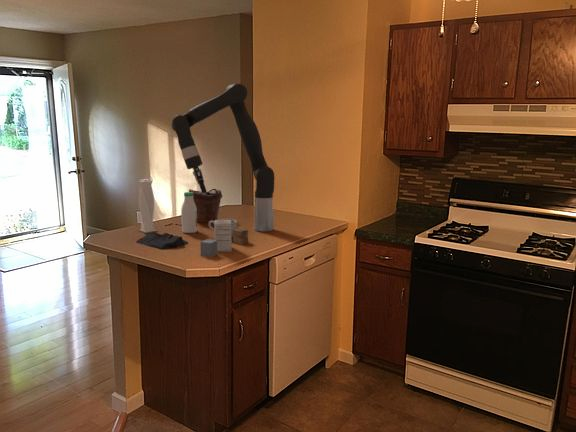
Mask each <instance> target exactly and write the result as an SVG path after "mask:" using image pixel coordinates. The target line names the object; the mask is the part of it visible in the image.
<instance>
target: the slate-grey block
mask: <svg viewBox="0 0 576 432" xmlns="http://www.w3.org/2000/svg"><path fill="white" fill-rule="evenodd" d="M199 243H200V245H199V246H200V256H202V257H209V258H212V257H214V256H216V255H218V252H217V241H216V240H215V239H204V240H202V241H200V242H199Z"/></svg>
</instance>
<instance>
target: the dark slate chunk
mask: <svg viewBox="0 0 576 432" xmlns="http://www.w3.org/2000/svg"><path fill="white" fill-rule="evenodd" d="M135 243H136V244H141V245H144V246H146V247H149V248H153V249H157V250H167V251H168V250H170V249H177V248H179V247H183V246H185V245H187V244H189V242H188V241H186V240H185V239H183V237H182V236H179V235H174V234H171V233H170V234H169V233H167V232H164V233H162V234H161V233H157V232H151V233H146V235H144V236H142V237H141V238H139V239H137V240H136V241H135Z"/></svg>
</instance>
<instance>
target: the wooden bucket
mask: <svg viewBox="0 0 576 432" xmlns="http://www.w3.org/2000/svg"><path fill="white" fill-rule="evenodd" d="M188 192H193V194H194V195H193V196H194V197H193V200H194V203H195V205H196V208H197V223H209V222H210V221H215V220H218V215H219V210H220V206H221V200H222V198H223V194H222V190H221V189H216V188H212V189H210V190H209V191H206V192H204V193H202V191H201V190H193V189H191V188H189V189H188Z"/></svg>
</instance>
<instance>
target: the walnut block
mask: <svg viewBox="0 0 576 432" xmlns="http://www.w3.org/2000/svg"><path fill="white" fill-rule="evenodd" d="M232 243H235V244H237V245H242V244H247V243H249V229H246V228H242V227H240V228H237V229H235V230H233V237H232Z"/></svg>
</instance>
